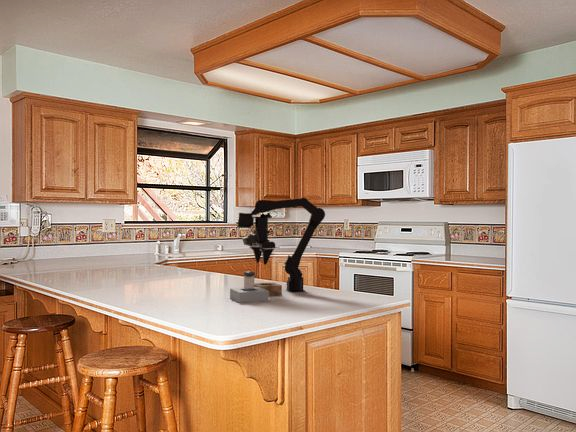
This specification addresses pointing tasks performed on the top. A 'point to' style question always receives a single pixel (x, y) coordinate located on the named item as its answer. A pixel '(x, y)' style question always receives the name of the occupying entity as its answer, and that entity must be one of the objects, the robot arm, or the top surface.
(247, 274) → the lock pin
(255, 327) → the top surface
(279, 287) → the pin mount
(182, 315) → the top surface
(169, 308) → the top surface
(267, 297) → the socket block
